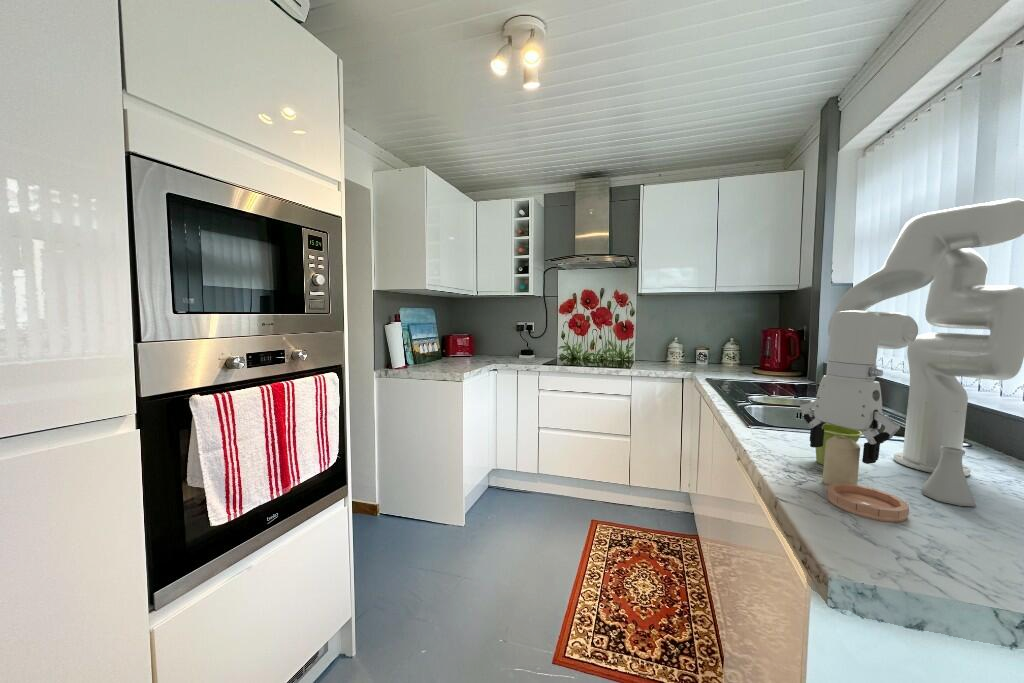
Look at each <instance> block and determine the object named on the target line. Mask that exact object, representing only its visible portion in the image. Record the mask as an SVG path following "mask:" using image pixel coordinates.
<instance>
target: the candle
mask: <svg viewBox="0 0 1024 683" xmlns="http://www.w3.org/2000/svg"><path fill="white" fill-rule="evenodd" d="M860 455H861V446H860V445H859V444H858V442H856V443H855V442H854V441H852V440H851V439H849V438H847V437H845V436H842V435H840V436H837V435H836V436H834V437H832V438H830V439H828V440H827V441H826V445H825V457H824V465H823V468H822V469H823V472H822V482H823V483H824V484H825V485H827V486H828V485H829V484H835V483H845V484H856V485H858V480H859V468H860V467H859V466H860Z"/></svg>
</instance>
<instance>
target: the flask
mask: <svg viewBox="0 0 1024 683" xmlns="http://www.w3.org/2000/svg"><path fill="white" fill-rule="evenodd" d="M940 449H941V450H942V455H941V459H940V461H939V464H938V466H937V467H936V469H935V470H934V472H933V473H931V475H930V476H929V477H928V479H927V480H926V481H925V483H924V484H923V486H922V487H921V488H920V491H921V493H922V494H923V495H924V496H926V497H928V498H931V499H933V500H936V501H937V502H941V503H946V504H949V505H956V506H960V507H977V504H976V501H975V499H974V496H973V494H972V492H971V489H970V486H969V482H968V481H967V478H966V477H967V476H965V475H964V472H963V466H962V465H963V457H964V456H963V454H965V455H966V450H964V449H963V448H962V449H959V448H956V447H949V446H940Z"/></svg>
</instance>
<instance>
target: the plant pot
mask: <svg viewBox="0 0 1024 683" xmlns="http://www.w3.org/2000/svg"><path fill="white" fill-rule="evenodd" d="M822 428H823V429H824V440H823V446H822V447H815V459H816V462H817V463H818V464H820V465H823V466H824V457H825V445H826V441H827V440H828V439H830V438H832V437H834V436H836V435H837V436H840V435H842V436H845V437H847V438H849V439H851V440H852V441H854V442H855V443H858V441H859V439H860V437H861V436H863V434H862V432H861V431H856V430H852V429H848V428H843V427H839V426H835V425H831V424H827V423H826V424H825V425H823V426H822Z"/></svg>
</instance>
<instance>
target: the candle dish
mask: <svg viewBox="0 0 1024 683" xmlns="http://www.w3.org/2000/svg"><path fill="white" fill-rule="evenodd" d="M826 498H827V501H828V502H830V504H832V505H833V506H835V507H836V508H839V509H841V510H843V511H845V512H847V513H850V514H852V515H855V516H859V517H861V518H862V517H863V518H866V519H870V520H874V521H880V522H887V523H900V522H901V523H902V522H905V521H907V519H908V516H909V515H910V512H909V511H910V507H909V504H908V502H907V501H905V500H903V499H902V498H900V497H898V496H896V495H894V494H892V493H888V492H885V491H883V490H880V489H877V488H873V487H868V486H863V485H860V484H857V485H856V484H845V483H835V484H829V485H828V484H827V493H826Z"/></svg>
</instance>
